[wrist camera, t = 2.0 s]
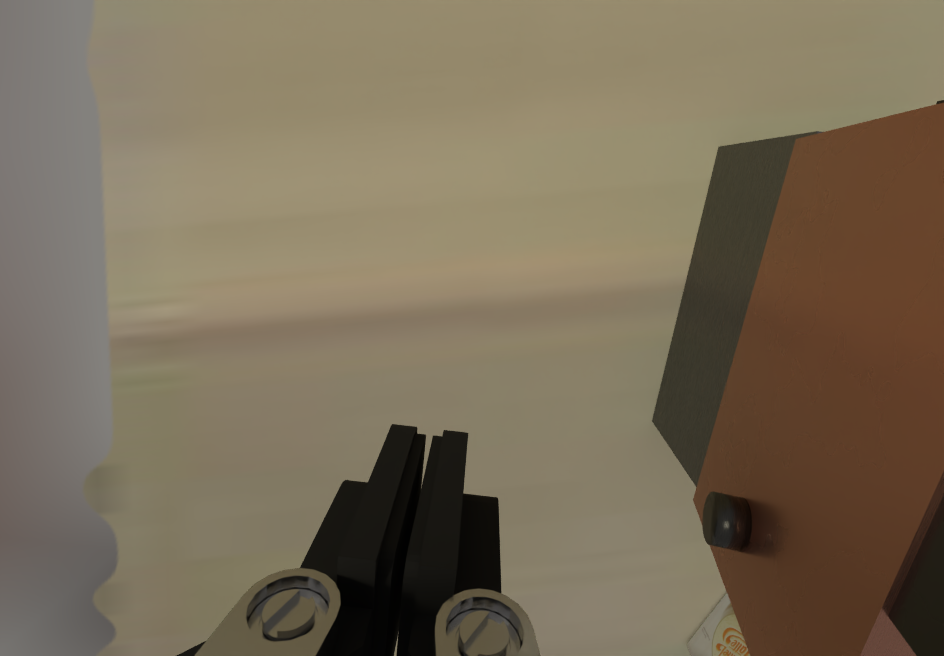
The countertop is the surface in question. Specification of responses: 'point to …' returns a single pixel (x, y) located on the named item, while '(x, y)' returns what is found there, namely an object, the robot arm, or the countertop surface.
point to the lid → (840, 405)
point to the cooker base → (719, 292)
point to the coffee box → (719, 634)
